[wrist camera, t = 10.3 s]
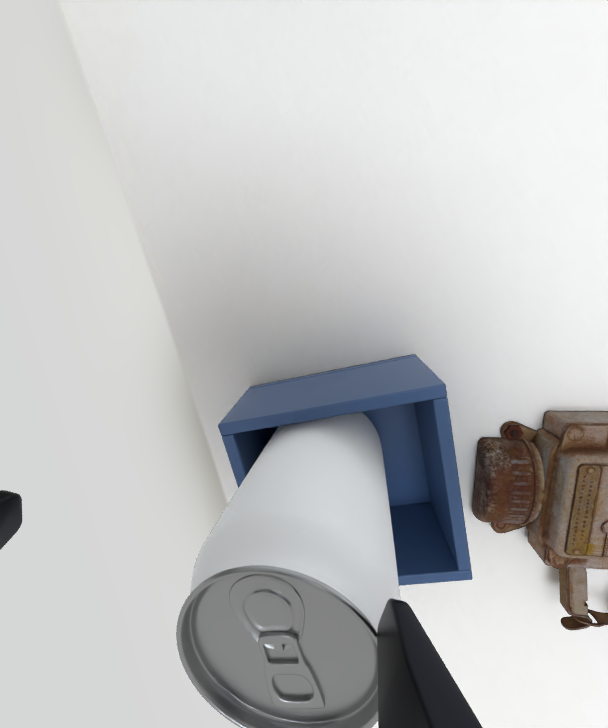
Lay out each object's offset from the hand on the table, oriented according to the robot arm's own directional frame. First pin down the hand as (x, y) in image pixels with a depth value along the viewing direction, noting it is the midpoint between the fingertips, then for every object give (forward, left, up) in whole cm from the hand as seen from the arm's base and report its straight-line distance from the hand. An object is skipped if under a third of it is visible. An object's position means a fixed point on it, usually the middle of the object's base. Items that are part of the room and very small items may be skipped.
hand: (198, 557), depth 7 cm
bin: (+5, -3, -13) cm, 14 cm away
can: (+3, -3, -12) cm, 13 cm away
